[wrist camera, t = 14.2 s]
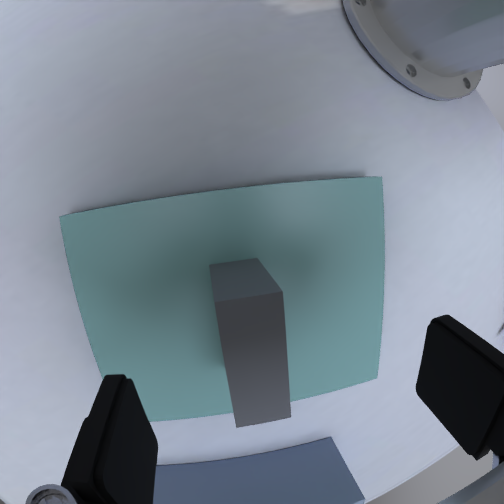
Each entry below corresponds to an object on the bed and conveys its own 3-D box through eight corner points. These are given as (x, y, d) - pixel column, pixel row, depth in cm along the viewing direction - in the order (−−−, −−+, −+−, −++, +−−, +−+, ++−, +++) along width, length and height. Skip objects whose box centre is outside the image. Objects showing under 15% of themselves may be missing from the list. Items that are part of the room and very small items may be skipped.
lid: (364, 176, 18) (442, 179, 11) (364, 363, 21) (415, 421, 14) (73, 212, 16) (8, 233, 9) (125, 404, 19) (108, 480, 12)
